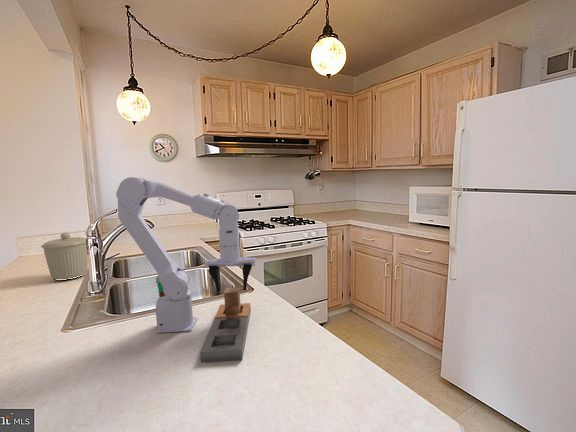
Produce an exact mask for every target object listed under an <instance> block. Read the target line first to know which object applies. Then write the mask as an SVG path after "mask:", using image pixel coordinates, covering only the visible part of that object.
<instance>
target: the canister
mask: <svg viewBox="0 0 576 432" xmlns="http://www.w3.org/2000/svg"><path fill="white" fill-rule="evenodd" d="M86 239H87V238H86V237H79V236H78V237H77V236H76V237H75V236H74V237H71V235H70V233H68V232H62V233H61V234H60V238H59V239H58V238H57V239H52V240H49V241H46V242H44V243H43V244H42V245H40V247H41V248H42V249H43V253H44V257H45V259H46V260H45V261H46V264H47V268H48V270H49V275H50V276H51V279H53V280H54V279H68V278H73V277H77V276H80V275H83V274H85V273H86V272H87V273H88V267H89V258H88V259H87V251H86ZM87 273H86V274H87ZM86 274H85V275H86Z"/></svg>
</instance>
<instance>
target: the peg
mask: <svg viewBox="0 0 576 432" xmlns="http://www.w3.org/2000/svg"><path fill="white" fill-rule="evenodd" d="M240 292H241V291H240V287H226V288H225V290H224V293H223V295H224V304H225V314H233V313H241V306H240V304H241V293H240Z"/></svg>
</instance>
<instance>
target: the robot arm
mask: <svg viewBox="0 0 576 432" xmlns="http://www.w3.org/2000/svg"><path fill="white" fill-rule="evenodd" d="M115 195H116V199H117V215H118V216H117V217H118V219H119V221H120V222H121V224H122V225H123V226H124V228H125V229H126V231H127V232H128V234H129V235H130V236H131V238H132V239H133V241H134V242H135V243H136V244H137V246H138V247H139V249H140V250H141V252H142V253H143V255H144V256H145V258H147V260H148V261H149V263H150V264H151V266H152V267H153V269H154V270H155V271H156V273H157V277H159V281H160V282H161V284H162V286H163V291H164V294H165V296H164V297H158V298H157V300H156V302H155V318H156V319H155V320H156V328H157V329H156V333H157V334H158V333H160V334H161V333H163V334H164V333H176V332H179V333H180V332H190V331H191V332H192V330H193V328H194V326H195V324H196V322H197V320H198V317H197V316H195V317H194V313H193V298H192V291H191V290H189V288H188V287H189V283H190V279H191V278H190V274H189V273H188V272H187V271H186V270H184V269H183V268H182V267H180V266H179V265H178V263H177V262H176V261H174V260H173V259H172V258H171V256H170V255H169V253H168V251H166V249H165V248H164V246H163V245H162V243H161V242H160V241H159V239H158V238H157V236H156V235H155V233H154V231H153V230H152V229H151V227H150V226H149V225H148V224H147V221H146V220H145V219H144V217H143V216H142V212H143V208H144V206H145V203H146V201H147V200H148V199H153V198H163V199H167V200H171V201H174V202H176V203H180V204H182V205H185V206H189V208H190V210H191V211H192V212H193V213H194V214H197V215H199V216H202V217H205V218H208V219H211V220H218V221H219V223H218V224H219V229H218V240H219V241H218V242H219V258H213V259H206V260H204V268H206V269H208V274H209V275H210V276H211V278H212V280H213V282H214V285H215V288H216V291H217V292H221V290H222V285H221V275H220V274H221V272H220V271H221V267H223V268H224V267H241V266H242V276H243V278H242V279H243V280H242V281H243V285H242V286H243V288H242V289H243V291H246V290H247V287H248V280H249V279H248V278H249V275H250V273H251V270H252V267H255V266H256V264H257V263H256V257H242V256H241V252H240V251H241V249H240V229H239V222H238V220H239V219H240V214H239V211H238V209H237V208H236V206H235V205H233V204H231V203H230V202H226V201H225V200H224V199H221V200H219V199H217V198H214V197H211V196H209V195H210V193H209V194H208V193H206V192H204V194H203V193H198V194H195V195H193V194H189V193H187V192H185V191H183V190H179V189H177V188H175V187H173V186H169V185H167V184H165V183H162V182H158V181H154V180H149V179H148V180H147V179H145V178H142V177H133V176H131V177H130V176H129V177H126V178H124V179H123V180H122V181H121V182H120V183H119V185H118V188H117V190H116V193H115ZM182 269H183V270H182Z"/></svg>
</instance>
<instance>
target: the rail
mask: <svg viewBox="0 0 576 432" xmlns="http://www.w3.org/2000/svg"><path fill="white" fill-rule="evenodd" d="M240 306H241V313H233V314H225V303H224V304H220V305H219V307H218V309H217V312H216V314H215V316H214V319H213V321H212V324H211V325H210V328H209V331H208V334H207V336H206V338H205V339H204V342H203V345H202V347H201V349H200V351H199V352H200V353H199V355H200V363H215V362H231V361H232V362H233V361H243V358H244V352H245V348H246V347H245V346H246V341H247V336H248V335H247V334H248V329H249V324H250V316H251V312H252V311H251V310H252V309H251V303H250V302H248V303H240ZM231 345H232V346H231Z"/></svg>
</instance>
